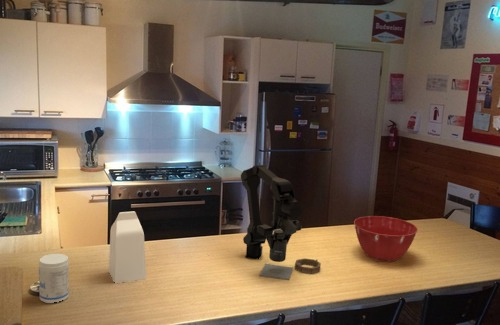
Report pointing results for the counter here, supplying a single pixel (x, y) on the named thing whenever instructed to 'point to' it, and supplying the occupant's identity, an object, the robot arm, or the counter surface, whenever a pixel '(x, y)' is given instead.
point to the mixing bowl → (384, 237)
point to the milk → (127, 249)
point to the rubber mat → (276, 271)
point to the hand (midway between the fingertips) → (278, 247)
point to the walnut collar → (307, 269)
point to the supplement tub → (53, 278)
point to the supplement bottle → (278, 247)
